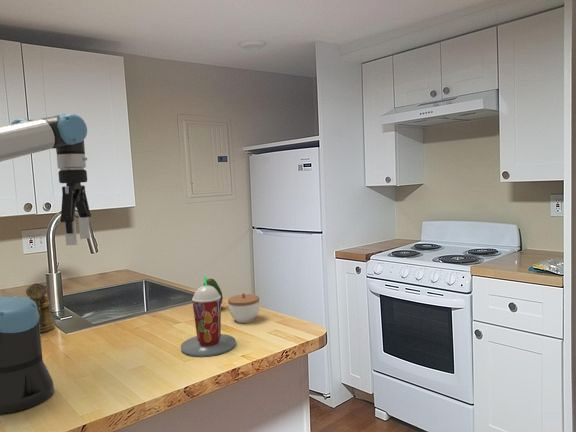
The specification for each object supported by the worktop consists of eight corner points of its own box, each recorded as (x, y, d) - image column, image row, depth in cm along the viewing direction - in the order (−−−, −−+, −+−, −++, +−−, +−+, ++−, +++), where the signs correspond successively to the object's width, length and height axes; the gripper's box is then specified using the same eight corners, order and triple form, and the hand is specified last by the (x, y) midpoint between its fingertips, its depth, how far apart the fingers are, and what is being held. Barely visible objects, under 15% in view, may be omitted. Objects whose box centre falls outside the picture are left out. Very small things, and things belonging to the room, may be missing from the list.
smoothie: (227, 338, 142) (224, 273, 140) (216, 348, 134) (212, 279, 132) (202, 337, 144) (198, 273, 142) (190, 347, 136) (185, 279, 134)
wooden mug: (25, 340, 152) (19, 285, 150) (26, 328, 164) (21, 278, 162) (55, 334, 156) (50, 281, 154) (54, 323, 168) (49, 274, 166)
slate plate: (236, 353, 132) (236, 350, 132) (178, 359, 129) (178, 356, 129) (234, 334, 148) (234, 331, 147) (183, 339, 145) (182, 336, 145)
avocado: (198, 309, 177) (196, 278, 176) (217, 305, 182) (215, 275, 180) (208, 314, 171) (206, 282, 169) (227, 309, 175) (225, 278, 174)
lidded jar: (230, 326, 156) (228, 299, 155) (228, 317, 166) (226, 291, 165) (262, 323, 158) (260, 296, 157) (258, 314, 168) (256, 288, 167)
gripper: (73, 168, 124) (80, 246, 126) (96, 169, 149) (102, 235, 151) (43, 169, 123) (50, 248, 125) (71, 170, 148) (77, 236, 150)
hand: (78, 241), depth 138 cm, fingers open, 13 cm apart
